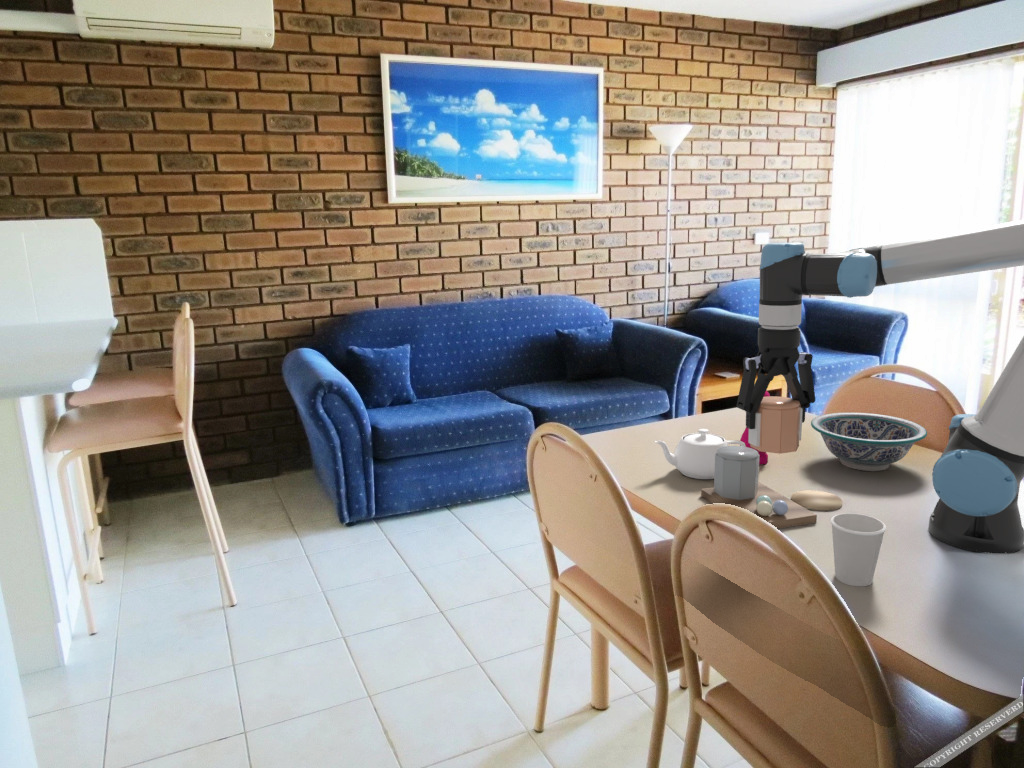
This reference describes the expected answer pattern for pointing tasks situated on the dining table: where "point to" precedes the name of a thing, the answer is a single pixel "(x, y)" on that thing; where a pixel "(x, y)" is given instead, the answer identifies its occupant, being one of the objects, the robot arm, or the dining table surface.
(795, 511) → the board
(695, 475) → the teapot
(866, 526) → the dixie cup
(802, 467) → the dining table surface
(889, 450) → the bowl
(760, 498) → the marble
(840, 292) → the robot arm
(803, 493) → the coaster
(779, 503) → the marble
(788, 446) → the peach faceted canister
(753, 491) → the grey faceted canister
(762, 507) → the marble
